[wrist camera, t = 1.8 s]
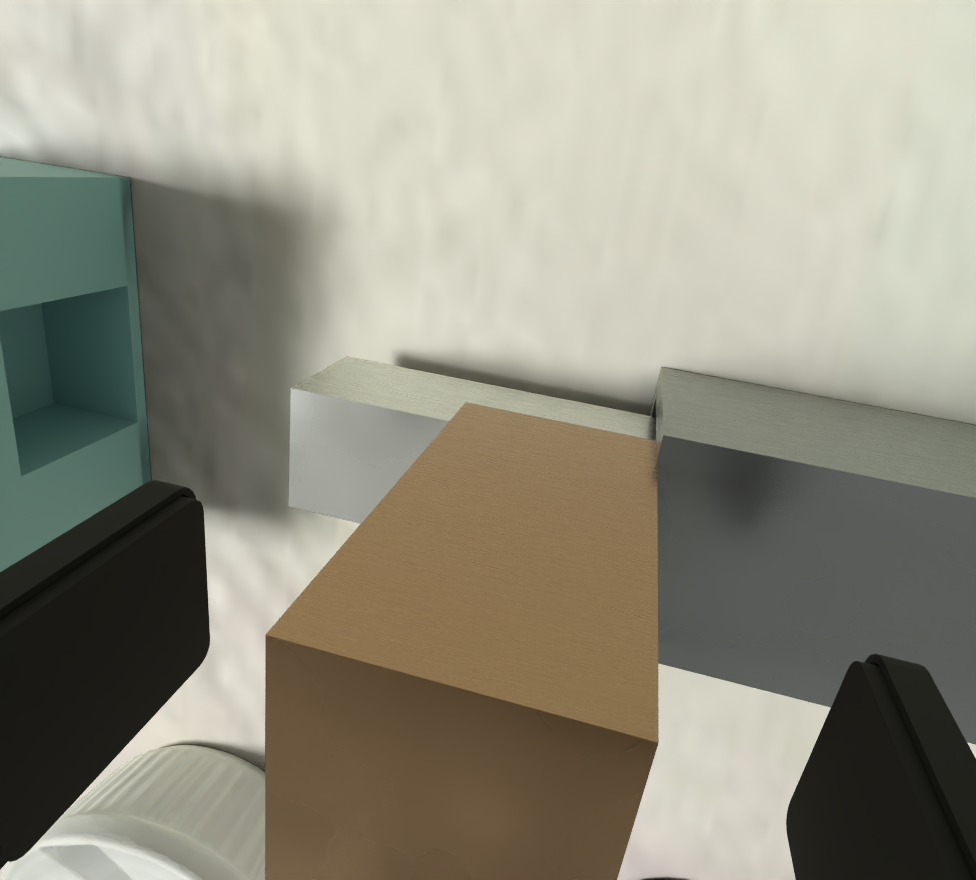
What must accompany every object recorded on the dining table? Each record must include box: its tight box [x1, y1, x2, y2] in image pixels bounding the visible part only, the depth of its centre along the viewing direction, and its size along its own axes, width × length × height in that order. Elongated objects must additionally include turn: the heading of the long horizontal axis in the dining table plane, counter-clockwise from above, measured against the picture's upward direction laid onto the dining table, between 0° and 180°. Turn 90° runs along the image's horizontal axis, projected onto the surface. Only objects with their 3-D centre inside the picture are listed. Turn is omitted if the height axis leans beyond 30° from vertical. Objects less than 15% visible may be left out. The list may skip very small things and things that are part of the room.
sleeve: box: [650, 367, 976, 744], centre depth 15 cm, size 12×5×5 cm, turn 82°
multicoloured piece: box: [265, 356, 658, 880], centre depth 12 cm, size 19×4×11 cm, turn 82°
